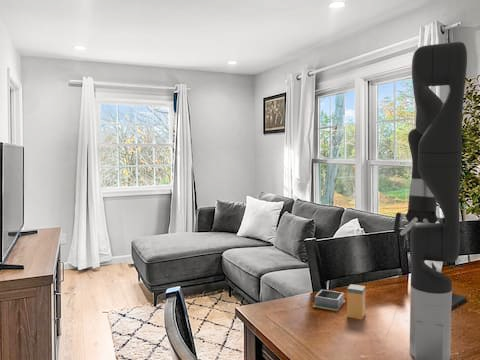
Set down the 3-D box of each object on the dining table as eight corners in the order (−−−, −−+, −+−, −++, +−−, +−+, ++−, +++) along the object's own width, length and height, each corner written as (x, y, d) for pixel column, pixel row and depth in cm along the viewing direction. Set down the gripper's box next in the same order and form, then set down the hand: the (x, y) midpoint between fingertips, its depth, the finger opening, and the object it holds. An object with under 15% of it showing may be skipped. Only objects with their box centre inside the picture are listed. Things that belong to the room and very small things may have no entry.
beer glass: (421, 287, 150) (422, 248, 149) (422, 282, 156) (423, 244, 155) (442, 290, 147) (442, 250, 146) (442, 285, 153) (443, 246, 152)
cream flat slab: (337, 314, 126) (337, 310, 126) (313, 310, 129) (313, 306, 129) (345, 304, 134) (345, 300, 134) (321, 300, 138) (321, 296, 138)
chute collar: (338, 309, 127) (338, 300, 126) (314, 305, 130) (314, 296, 130) (343, 301, 133) (343, 292, 133) (321, 297, 137) (321, 289, 137)
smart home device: (416, 304, 131) (443, 290, 143) (416, 309, 131) (443, 295, 143) (442, 311, 124) (467, 296, 137) (441, 316, 124) (467, 301, 137)
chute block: (362, 323, 119) (362, 290, 118) (347, 320, 121) (347, 288, 120) (365, 318, 123) (365, 286, 122) (350, 315, 125) (350, 284, 124)
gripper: (395, 192, 117) (390, 247, 117) (449, 197, 110) (445, 255, 110) (399, 193, 123) (395, 245, 123) (451, 197, 116) (446, 252, 116)
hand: (418, 250), depth 116 cm, fingers open, 8 cm apart
